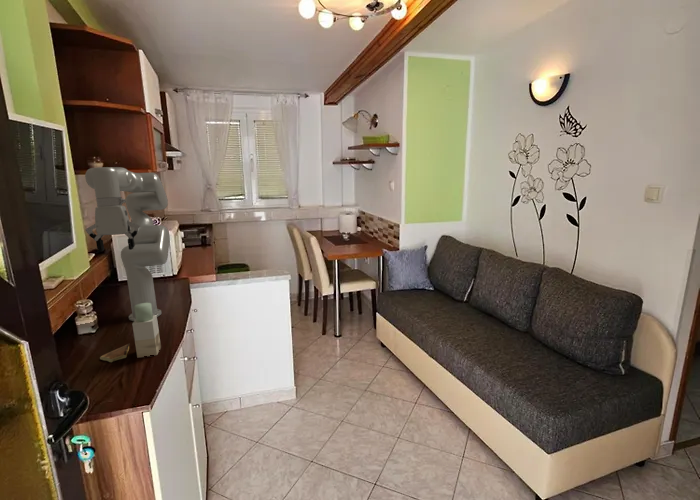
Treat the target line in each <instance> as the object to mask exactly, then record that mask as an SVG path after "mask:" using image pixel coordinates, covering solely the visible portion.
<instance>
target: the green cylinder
mask: <svg viewBox="0 0 700 500" xmlns="http://www.w3.org/2000/svg"><path fill="white" fill-rule="evenodd" d="M134 309H135V315H136V321H137V322H146V321H149V320H152V319H153V313H152V306H151V303H141V304H137V305H135V306H134Z"/></svg>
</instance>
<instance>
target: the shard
mask: <svg viewBox="0 0 700 500" xmlns="http://www.w3.org/2000/svg"><path fill="white" fill-rule="evenodd" d="M129 350H130V343H127V344H125V345H123V346H121V347H118V348H116V349H114V350H111V351H109V352H107V353H105V354H103V355H100V357H99V360H102V361H106V362H109V363H113V362H115V361H119V360H123V359H126V358H127V356H128V352H129Z"/></svg>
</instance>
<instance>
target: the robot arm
mask: <svg viewBox="0 0 700 500" xmlns="http://www.w3.org/2000/svg"><path fill="white" fill-rule="evenodd" d="M84 176H85V177H84V178H85V182H86V184H87V185H88V187H90V188H91V189H93V190H94V194H95V195H94V196H95V200H96V207H95V210H94V221H95V222H94V223H93V224H92V225H90V226H89V227H87V228H86V229H85V232H86V233H87V234H88V236H89V237H90V238H91V239H93V240H94V241H95V243H96V248H97V250H98V252H99V253H101V252H102V253H103V251H105V246H104V240H103V239H102V238H103V237H104V236H114V235H125V236H126V238H128V239H127V244H128V245H126V246H124V247H123V248H122V249H121V251H120V258H121V263H122V265H123V267H124V271H125V276H126V281H127V287H128V293H129V300H130V305H131V306H130V307H131V312H132V313H130V314H129V315H128V320H129V321H131V322H134V321H135V320H136V315H135V309H134V306H135V305H137V304H141V303H151V306H152V313H153V316H154V315H157V318H158V317H159V316H160V315H162V309H159V308H158V306H157V300H156V299H157V297H156V292H155V285H154V284H155V283H154V278H153V274H152V272H151V271H150V270H149V269H148V268H147V267H153V266H155V267H156V266H163V265H165V264H166V263H167V261H168V257H169V249H170V240H171V235H170V231H169V230H168V228H167V227H166V226H165V225H161V224H157V225H154V221H153V219H152V217H151V216H149V215H148V214H147V213H146V212H147V211H163V210H165V209H166V208H167V207H168V205H169V202H168V201H169V200H168V196H167V193H166V191H165V187H164V185H163V182H162V180H161V178H160V177H159V175H158V174H156V173H155V172H135V171H134V172H133V171H130V170H128V169H127V168H125V167H121V166H120V167H119V166H116V167H115V166H114V167H111V166H110V167H108V166H106V167H105V166H104V167H103V166H102V167H101V166H99V167H98V166H96V167H91V168H88V169H87V170H86V172H85V175H84ZM121 192H128V193H129V194H127V196H126V198H122V196H121ZM124 204H125V205H126V206H125V205H124ZM129 217H130V218H129ZM130 219H131V221H130ZM93 230H95V231H96V234H95V232H93Z"/></svg>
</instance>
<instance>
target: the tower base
mask: <svg viewBox="0 0 700 500" xmlns="http://www.w3.org/2000/svg"><path fill="white" fill-rule="evenodd" d="M134 344H135V350H136V357H137V358H145V357H144V356H147V357H151V356H150V355H154V356H157V355H158V354H159V352H160V351H161V349H162V344H161V339H160V331H159V332H158V334H157V336H156V337H155V338H154V339H146V340H138V341H135V340H134ZM159 350H160V351H159Z"/></svg>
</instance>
